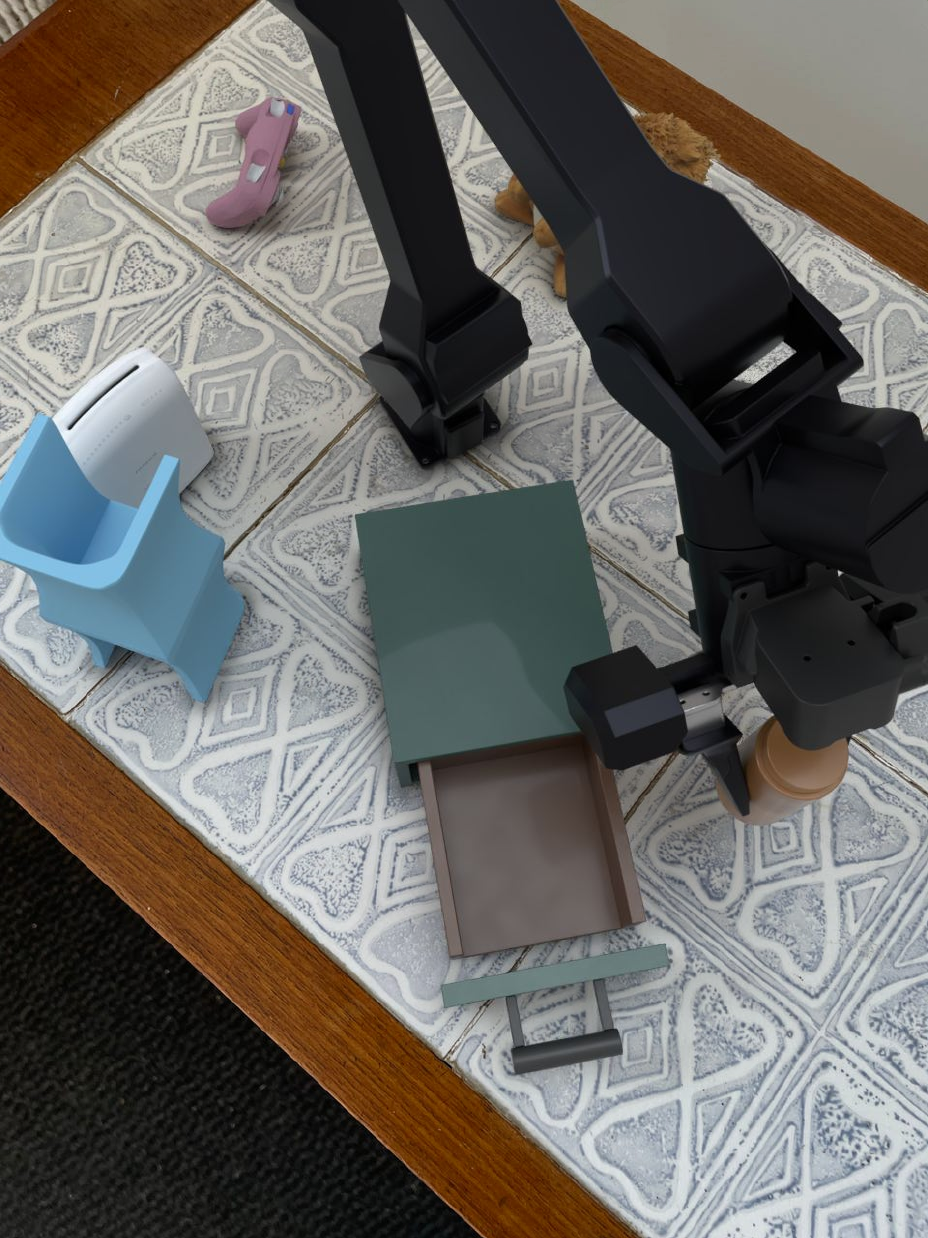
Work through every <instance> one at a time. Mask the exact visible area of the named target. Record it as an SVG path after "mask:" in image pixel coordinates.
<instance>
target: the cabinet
mask: <svg viewBox="0 0 928 1238" xmlns="http://www.w3.org/2000/svg"><path fill="white" fill-rule="evenodd" d="M354 520H355V528H356V533H357V539H358V545H359V546H358V547H359V553H360V560H361V565H362V571H363V578H364V585H365V590H366V597H367V603H368V610H369V616H370V622H371V628H372V635H373V640H374V641H373V642H374V646H375V647H374V648H375V653H376V661H377V666H378V672H379V679H380V684H381V691H382V698H383V705H384V710H385V716H386V717H385V718H386V722H387V730H388V736H389V742H390V748H391V755H392V761H393V765H394V768H395V769H394V770H395V772H396V773H395V774H396V776H397V780H398V784H399V787H400V788H405V787H411V786H416V785H417V786H418V785H421V783H420V777H419V771H418V765H417V762H421V761H427V760H433V759H439V758H445V757H450V756H456V755H462V754H468V753H473V752H479V751H485V750H491V749H496V748H502V747H508V746H514V745H520V744H525V743H531V742H537V741H543V740H548V739H554V738H560V737H566V736H571V735H577V734H583V733H582V732H581V731H580V729H579V728H578V726H577V725H576V723H575V722H574V720H573V719H572V717H571V716H570V714H569V710H568V706H567V701H566V697H565V693H564V688H563V687H564V684H565V681H566V679H567V677H568V675H569V673H570V670H571V668H572V667H574V666H577V665H580V664H583V663H585V662H588V661H591V660H594V659H597V658H600V657H603V656H606V655H608V654H611V653H614V652H613V647H612V642H611V639H610V635H609V630H608V626H607V621H606V617H605V612H604V608H603V603H602V599H601V595H600V590H599V586H598V581H597V577H596V572H595V569H594V564H593V560H592V555H591V552H590V546H589V541H588V538H587V533H586V529H585V525H584V520H583V516H582V511H581V507H580V504H579V499H578V494H577V490H576V486H575V481H574V479H567V480H561V481H554V482H548V483H542V484H536V485H529V486H523V487H516V488H511V489H505V490H498V491H492V492H485V493H479V494H473V495H467V496H461V497H455V498H448V499H447V498H446V499H442V500H436V501H429V502H422V503H416V504H410V505H404V506H398V507H392V508H391V507H390V508H384V509H380V510H379V509H378V510H373V511H367V512H366V511H365V512H361V513H355V514H354Z"/></svg>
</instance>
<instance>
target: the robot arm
mask: <svg viewBox="0 0 928 1238" xmlns="http://www.w3.org/2000/svg"><path fill="white" fill-rule="evenodd" d="M266 1H267V2H268V3H270V4H271V5H272V6H273V7H274V8H276V9H277V10H278V11H279V12H280V13H281V14H282V15H283V16H285V17H286V18H287V19H289V20H290V21H291V22H292V23H293V24H295V25H296V26H297V27H298V28H299V29H300V30H301V31H302V33H303V35H304V38H305V41H306V42H307V47H308V48H309V51H310V54H311V57H312V59H313V63H314V65H315V69H316V71H317V75H318V77H319V80H320V82H321V86H322V88H323V91H324V94H325V96H326V100H327V103H328V106H329V108H330V111H331V114H332V117H333V120H334V122H335V125H336V128H337V131H338V133H339V138H340V140H341V143H342V145H343V147H344V148H343V149H344V151H345V154H346V156H347V160H348V162H349V164H350V169H351V171H352V174H353V176H354V179H355V183H356V185H357V188H358V192H359V194H360V196H361V199H362V202H363V205H364V208H365V210H366V213H367V216H368V219H369V223H370V225H371V228H372V231H373V233H374V237H375V239H376V242H377V245H378V248H379V250H380V253H381V257H382V258H383V262H384V265H385V267H386V270H387V274H388V277H389V283H388V288H387V292H386V296H385V299H384V304H383V308H382V312H381V315H380V320H379V324H378V329H379V330H378V331H379V334H380V337H381V341H380V342H378V343H376V344H375V345H374V346H373V347H371V348H369V349H368V350H366V351H365V352H364V353H362V354H361V355H359V356H358V359H359V362H360V365H361V368H362V370H363V373H364V376H365V378H366V380H367V381H368V383H369V384H370V385H371V386H372V387H373V389H375V390H376V391H377V393H378V394H379V395H380V396H379V404H380V405H381V406H380V407H382V409H383V411H384V413H385V414H386V416H387V417H388V419H389V420H390V422H391V424H392V425H393V427H394V428H395V430H396V432H397V434H398V435H399V436H400V438H401V439H402V441H403V443H404V444H405V447H407V449H408V451H409V452H410V454H411V456H412V457H413V458H414V460H415V462H416V464H417V465H418V467H419V468H420V469H423V470H428V469H430V468H432V467H435V466H437V465H438V464H440V463H442V462H444V461H446V460H454V459H456V458H458V457H460V456H461V455H464V454H466V453H467V452H469V451H471V450H473V449H475V448H477V447H479V446H481V445H482V444H483V442H484V441H485V440H486V439H487V440H488V438H491V437H492V436H494V435H497V434H498V433H499V432H500V431H501V430H502V422H501V420H500V419H499V417H498V415H497V414H496V413H495V411H494V409H493V408H492V407H491V405H490V404H489V402H488V401H487V399H486V397H485V396H484V395H485V392H486V391H488V390H489V389H491V388H492V387H494V386H495V385H496V384H497V383H499V382H500V381H502V380H503V379H505V378H506V377H508V376H509V375H510V374H512V373H513V372H514V371H516V370H517V369H519V368H520V367H521V366H523V365H524V363H525V362H527V361H528V360H529V353H530V348H531V347H532V346H533V345H534V344H533V341H532V339H531V337H530V335H529V329H528V325H527V322H526V320H525V318H524V316H523V308H522V302H521V300H520V299H519V298H517V297H516V296H515V295H514V294H512V293H511V291H509V290H508V289H507V288H505V287H504V286H502V285H501V284H500V283H499V282H497V281H496V280H495V279H493V278H492V277H490V275H488V274H486V273H485V272H484V271H482V270H481V269H480V268H478V266H477V264H476V262H475V259H474V256H473V252H472V249H471V245H470V242H469V238H468V237H469V236H468V234H467V230H466V227H465V223H464V219H463V216H462V212H461V209H460V205H459V201H458V198H457V195H456V191H455V187H454V184H453V179H452V176H451V173H450V169H449V164H448V162H447V158H446V155H445V150H444V147H443V143H442V139H441V135H440V132H439V129H438V125H437V121H436V118H435V114H434V110H433V108H432V107H433V106H432V103H431V99H430V95H429V92H428V88H427V86H426V81H425V77H424V75H423V74H424V73H423V71H422V66H421V64H420V59H419V56H418V52H417V48H416V45H415V42H414V38H413V33H412V31H411V27H410V23H409V20H410V21H411V23H412V24H413V26H414V27H415V29H416V30H417V31H418V33H419V34H420V36H421V38H422V39H423V41H424V42H425V44H426V45H427V46H428V48H429V50H430V51H431V53H432V54H433V55H434V58H436V60H437V61H438V63H439V64H440V66H441V67H442V69H443V70H444V72H445V73H446V75H447V77H448V78H449V79H450V81H451V82H452V84H453V85H454V87H455V88H456V90H457V91H458V93H459V94H460V96H461V98H462V99H463V100H464V102H465V103H466V104H467V106H468V108H469V109H470V111H471V112H472V114H473V115H474V116H475V118H476V120H477V121H478V123H479V124H480V126H481V128H482V129H483V130H484V132H485V133H486V135H487V136H488V137H489V139H490V140H491V142H492V144H493V145H494V147H495V148H496V149H497V151H498V152H499V154H500V155H501V157H502V159H503V160H504V162H505V163H506V164H507V165H508V168H509V169H510V170H511V172H512V174H513V173H514V175H515V176H516V178H517V179H518V181H519V182H520V184H521V185H522V187H523V188H524V190H525V191H526V193H527V194H528V196H529V197H530V199H531V200H532V202H533V203H534V205H535V206H536V208H537V209H538V211H539V212H540V214H541V215H542V217H543V218H544V220H545V221H546V223H547V224H548V226H549V227H550V229H551V231H552V233H553V234H554V236H555V238H556V240H557V241H558V243H559V245H560V247H561V248H562V250H563V253H564V264H565V281H566V298H565V299H566V309H567V312H568V314H569V317H570V318H571V320H572V322H573V323H574V325H575V327H576V329H577V330H578V332H579V334H580V336H581V338H582V340H583V341H584V343H585V345H586V347H587V348H588V350H589V355H590V361H591V364H592V367H593V370H594V372H595V374H596V376H597V377H598V380H599V381H600V383H601V385H602V386H603V387H604V389H605V390H606V392H607V393H608V394H609V395H610V396H611V397H612V398H613V399H614V400H615V402H617V403H618V404H619V405H620V407H622V408H623V409H624V410H626V412H628V413H629V414H630V415H631V417H633V418H634V419H635V420H636V421H637V422H639V423H640V424H641V425H642V426H643V427H644V428H646V429H647V430H648V432H650V433H651V434H652V435H653V436H654V437H655V438H656V439H658V440H659V441H660V442H661V443H662V444H664V445H665V447H666V448H668V449H669V454H670V460H671V466H672V472H673V478H674V484H675V485H674V486H675V491H676V496H677V502H678V508H679V509H678V510H679V514H680V520H681V527H682V533H681V534H677V535H675V536H674V538H675V543H676V549H677V555H678V557H680V558H681V559H682V560H684V562H686V563H687V565H688V570H689V576H690V582H691V588H692V594H693V601H694V606H695V608H693V609H690V610H688V611H687V615H688V623H689V628H690V630H691V631H692V632H693V633H694V634H695V635H696V636H697V637H698V638H699V639H700V644H701V650H699V651H696V652H695V653H691V654H689V655H688V656H687V657H685V658H684V659H680V660H678V661H674V662H672V663H670V664H667V665H664V666H661V667H657V666H656V665H655V664H654V663H653V662H652V660H651V659H650V658H649V657H648V656H647V655H646V654H645V653H644V652H643V650H641V648H640V647H639V646H638V645H637V644H635V645H632V646H629V647H626V648H622V649H620V650H618V651H614V652H613V653H611V654H608V655H606V656H603V657H600V658H597V659H594V660H591V661H588V662H585V663H583V664H580V665H577V666H574V667H572V668H571V670H570V673H569V675H568V677H567V679H566V681H565V684H564V687H563V688H564V693H565V697H566V701H567V706H568V710H569V714H570V716H571V717H572V719H573V720H574V722H575V723H576V725H577V726H578V728H579V729H580V731H581V732H582V733H583V735H584V736H585V738H586V739H587V741H588V742H589V744H590V745H591V747H592V748H593V750H594V751H595V753H596V754H597V756H598V757H599V759H600V760H601V762H602V763H603V765H604V766H605V767H606V769H613V771H621V772H623V771H626V770H629V769H631V768H634V767H637V766H639V765H642V764H644V763H648V762H651V761H653V760H656V759H659V758H662V757H664V756H667V755H670V754H673V753H675V752H677V753H679V754H680V755H681V756H682V755H683V756H686V757H693V756H696V755H701V757H702V758H703V759H702V760H704V762H705V763H706V765H707V767H708V768H709V770H710V771H711V773H712V774H713V776H714V778H715V780H716V779H717V781H718V782H719V784H720V785H721V787H722V788H723V790H724V792H725V793H726V795H727V796H728V798H729V799H730V801H731V803H732V804H733V806H734V807H735V808H736V810H737V811H738V812H739V813H740V814H741V816H742V817H744V816H747V815H749V814H750V803H749V793H748V789H747V785H746V781H745V777H744V772H743V768H742V764H741V760H740V756H739V752H738V748H737V746H738V743H739V741H741V739H742V738H743V737H744V732H742V730H741V729H739V728H738V726H737V725H736V724H735V723H734V721H732V720H731V719H730V718H729V717H728V715H726V713H725V712H724V706H723V698H724V695H725V694H727V693H730V692H732V691H735V690H738V689H740V688H743V687H746V686H749V685H752V684H753V686H754V688H755V690H756V691H757V693H758V694H759V695H760V697H761V698H762V700H763V702H765V704H766V706H767V707H768V709H769V710H770V711H771V713H772V714H773V715H774V716H775V717H776V719H777V720H778V722H779V723H780V725H781V727H782V730H783V732H784V734H785V735H786V737H787V738H788V740H789V741H790V742H791V743H792V744H793V745H795V746H796V747H798V748H800V749H804V750H809V751H815V750H820V749H823V748H826V747H829V746H831V745H832V744H833V743H834V742H836V741H838V740H841V739H843V738H846V740H847V744H848V747H849V746H850V743H851V740H852V737H853V736H854V735H856V734H859V733H862V732H866V731H868V730H878V729H881V728H883V727H885V726H887V725H889V723H891V722H892V721H893V719H894V717H895V714H896V713H895V712H896V708H897V704H898V700H899V696H900V695H901V694H904V693H907V692H910V691H913V690H915V689H919V688H920V687H924V686H926V685H928V434H924V431H923V427H922V423H921V420H920V416H918V415H917V414H916V413H915V412H914V411H910V410H905V409H901V408H895V407H890V406H889V407H887V406H885V407H883V406H882V407H870V406H865V405H864V406H863V405H860V404H855V403H851V402H846V401H842V398H841V395H840V394H841V393H840V391H839V386H841V385H842V384H843V383H844V382H846V381H847V380H848V379H849V378H851V377H852V376H853V375H854V374H856V373H857V372H859V371H860V370H861V369H863V367H864V366H865V361H864V358H863V356H862V355H861V354H860V352H859V351H858V350H857V349H856V347H854V345H853V344H852V343H851V342H850V341H849V340H848V338H847V337H846V336H845V335H844V334H843V332H842V331H841V330H840V329H841V327H842V326H843V322H842V320H840V319H839V318H838V317H837V316H836V315H835V314H834V313H833V312H832V311H831V310H830V309H828V308H827V307H826V306H825V305H824V304H823V303H822V302H821V301H820V300H818V298H816V296H814V295H813V294H812V292H810V291H809V290H808V289H807V288H806V287H805V286H804V285H803V284H802V282H800V281H799V280H798V279H797V278H796V277H795V275H794V274H793V273H792V272H791V271H790V270H789V268H788V267H787V266H786V264H784V263H783V261H782V260H781V259H780V258H779V256H778V255H777V254H776V253H775V252H774V251H773V250H772V249H771V248H770V247H769V246H768V245H767V244H766V243H764V241H763V240H762V239H761V237H760V236H759V235H758V234H757V232H756V231H755V230H754V229H753V227H752V226H751V225H750V224H749V222H748V221H747V220H746V219H745V218H744V215H742V214H741V212H740V211H739V210H738V209H737V208H736V206H735V205H734V204H733V203H732V202H731V200H730V199H729V197H727V196H726V194H725V193H722V192H721V191H720V190H717V189H715V188H713V187H711V186H709V185H707V184H702V183H700V182H698V181H696V180H694V179H691V178H689V177H687V176H685V175H683V174H681V173H678V172H676V171H674V170H672V169H670V168H669V167H668V165H667V164H666V163H665V162H664V160H663V159H662V158H661V157H660V155H659V154H658V153H657V152H656V150H655V149H654V148H653V147H652V145H651V144H650V142H649V141H648V139H647V138H646V136H645V135H644V133H643V132H642V130H641V129H640V127H639V125H638V124H637V122H636V121H635V119H634V118H633V116H634V115H632V113H631V112H630V110H629V109H628V107H627V105H626V104H625V102H624V100H623V99H622V97H621V96H620V95H619V93H618V92H617V90H616V88H615V87H614V85H613V84H612V82H611V81H610V79H609V78H608V76H607V74H606V73H605V72H604V70H603V68H602V67H601V65H600V64H599V62H598V61H597V59H596V58H595V56H594V55H593V53H592V52H591V49H590V48H589V47H588V45H587V44H586V42H585V40H584V39H583V38H582V35H580V33H579V31H578V30H577V29H576V27H575V25H574V23H573V22H572V21H571V19H570V17H569V16H568V14H567V13H566V11H565V10H564V9H563V7H562V6H561V4H560V2H559V1H558V0H266ZM408 18H409V20H408ZM782 343H784V344H785V345H786V346H788V347H789V348H790V349H792V350H793V351H794V353H792V354H791V355H790V356H789V357H787V358H786V359H785V360H783V361H782V362H781V363H779V364H778V365H777V366H776V367H774V368H772V369H771V370H770V371H769V372H768V373H766V374H765V375H764V376H762V377H761V378H760V379H759V380H757V381H755V383H751V382H747V381H743V380H738V379H736V378H738V377H740V375H742V374H743V373H744V372H746V371H748V370H749V369H750V368H751V367H752V366H754V365H755V364H757V363H758V362H759V361H760V360H762V359H763V358H764V357H766V356H767V355H768V354H770V353H771V352H772V351H774V350H775V349H776V348H777V347H778V346H780V345H781V344H782ZM492 425H496V426H495V427H493V426H492ZM424 460H425V461H427V462H426V463H424V462H423V461H424ZM839 572H841V573H840V574H839Z"/></svg>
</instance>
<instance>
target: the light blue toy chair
mask: <svg viewBox="0 0 928 1238" xmlns="http://www.w3.org/2000/svg"><path fill="white" fill-rule="evenodd" d="M52 418H53V417H51V416H48V415H45V414H41V413H39V412H38V413H37V412H36V414H35V417H34V418H33V421H32V422H31V424H30V426H29V428H28V429H27V432H26V433H25V436H24V438H23V439H22V441H21V443H20V445H19V447H18V449H17V451H16V452H15V455H14V457H13V458H12V460H11V462H10V464H9V466H8V467H7V470H6V471H5V474H4V476H3V477H2V479H1V481H0V561H1V562H3V563H6V564H9V565H10V566H12V567H15V568H16V569H19V570H20V571H23V572H24V573H26V574H27V575H28V576H29V577H30V578H31V580H32V582H33V583H34V585H35V587H36V591H37V594H38V605H39V606H38V616H39V617H40V618H41V619H42V620H44V622H46V623H49V624H52V625H55V626H58V627H61V628H64V629H66V630H68V631H70V632H72V633H74V634H76V635H77V636H79V637H81V638H82V639H83V641H84V642H85V643H86V644H87V646H88V647H89V650H90V652H91V657H92V663H93V665H94V666H96V667H100V668H102V669H106V667H107V665H108V662H109V661H110V658H111V656H112V654H113V652H114V650H115V648H116V646H117V647H121V648H122V649H123V648H124V649H125V650H126V649H127V650H129V651H132V652H135V653H137V654H140V655H142V656H144V657H147V658H151V659H153V660H157V661H160V662H162V663H165V664H167V665H168V666H169V667H170V668H171V669H173V671H174V672H175V674H177V676H178V677H179V678H180V680H181V682H182V683H183V685H184V687H185V689H186V690H187V692H188V694H189V695H190V697H191V699H192V700H195V701H197V702H201V703H204V704H206V702H207V700H208V697H209V696H210V693H211V691H212V688H213V686H214V684H215V682H216V679H217V676H218V675H219V672H220V670H221V667H222V665H223V663H224V661H225V658H226V656H227V653H228V651H229V650H230V647H231V644H232V642H233V640H234V638H235V635H236V633H237V631H238V628H239V626H240V623H241V621H242V618H243V615H244V612H245V607H246V604H245V600H244V598H243V595H242V594H241V593H240V591H239V590H238V589H236V588H235V587H233V586H231V584H230V583H229V582H228V580H227V578H226V575H225V570H224V559H225V550H226V544H227V543H226V541H225V539H224V537H223V536H222V535H220V534H218V533H214V532H212V531H211V530H208V529H206V528H204V527H201V526H200V525H198V523H195V522H194V521H192V520H191V518H189V516H188V515H187V514H186V512H185V511H184V509H183V506H182V503H181V499H180V498H181V497H180V494H179V490H178V487H179V470H180V459H178V458H175V457H172V456H169V455H166V454H165V455H164V457H163V459H162V461H161V463H160V465H159V467H158V469H157V472H156V474H155V476H154V478H153V480H152V482H151V484H150V486H149V488H148V490H147V492H146V494H145V497H144V499H143V501H142V503H141V505H140V507H139V509H136V508H133V507H131V506H128V505H125V504H122V503H119V502H116V501H113V500H110V499H108V498H106V497H104V496H103V495H101V494H100V493H99V492H98V491H97V490H96V489H95V488H94V487H93V486H92V485H91V483H90V482H89V481H88V480H87V478H86V477H85V475H84V474H83V472H82V470H81V469H80V467H79V466H78V464H77V462H76V461H75V459H74V457H73V455H72V454H71V452H70V450H69V448H68V446H67V445H66V443H65V441H64V439H63V437H62V435H61V434H60V432H59V430H58V428H57V426H56V424H55V423H54V421H53V420H52Z"/></svg>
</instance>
